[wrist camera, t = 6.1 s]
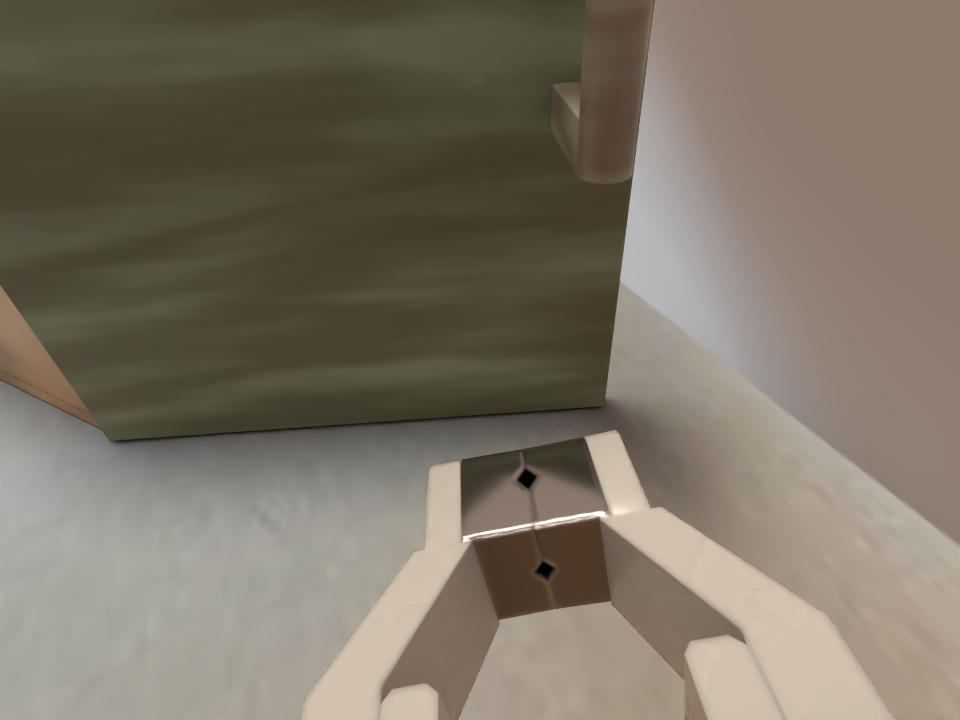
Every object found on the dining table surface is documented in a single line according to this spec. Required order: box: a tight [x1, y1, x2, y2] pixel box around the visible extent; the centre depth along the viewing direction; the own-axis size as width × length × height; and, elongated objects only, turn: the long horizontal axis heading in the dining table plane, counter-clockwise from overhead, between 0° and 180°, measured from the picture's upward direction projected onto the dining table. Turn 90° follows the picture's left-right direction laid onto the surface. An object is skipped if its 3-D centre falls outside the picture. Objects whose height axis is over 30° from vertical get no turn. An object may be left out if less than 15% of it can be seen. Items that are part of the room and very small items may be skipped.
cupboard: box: [0, 286, 101, 429], centre depth 34 cm, size 18×26×24 cm
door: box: [0, 0, 655, 441], centre depth 18 cm, size 7×26×24 cm, turn 93°
